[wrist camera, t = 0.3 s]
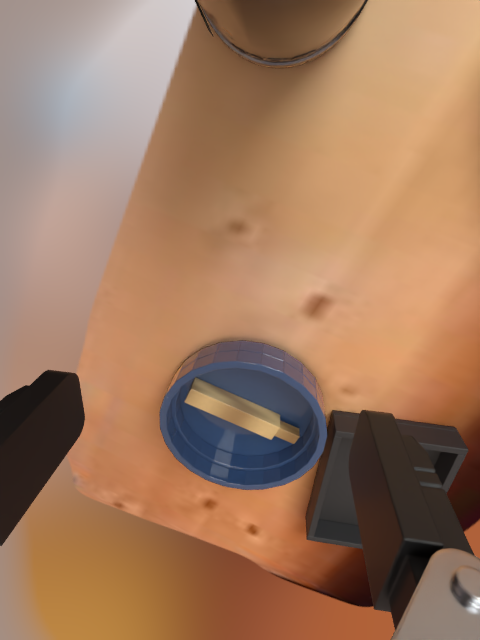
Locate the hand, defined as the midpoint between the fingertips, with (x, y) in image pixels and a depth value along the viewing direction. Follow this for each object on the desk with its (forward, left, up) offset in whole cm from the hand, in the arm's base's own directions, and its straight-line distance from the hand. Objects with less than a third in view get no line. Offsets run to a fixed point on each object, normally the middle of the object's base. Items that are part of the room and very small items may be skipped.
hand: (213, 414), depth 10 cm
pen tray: (+20, +13, -17) cm, 30 cm away
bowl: (+14, 0, -17) cm, 22 cm away
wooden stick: (+14, 0, -17) cm, 22 cm away
